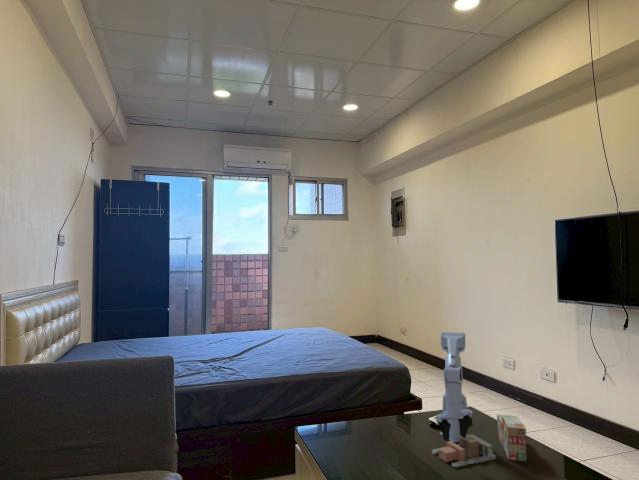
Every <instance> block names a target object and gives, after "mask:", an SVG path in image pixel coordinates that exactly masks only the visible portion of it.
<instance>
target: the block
mask: <svg viewBox="0 0 639 480" xmlns="http://www.w3.org/2000/svg"><path fill="white" fill-rule="evenodd" d="M469 435H470V434H466V438H463V437H461V436H459V442H458V444H459V445H460V447H462V448H463V449H465V455H467V456H468V457H470V458H475V457H480V454H479V441H478V440H476V439H474V438H472V437H470V436H469ZM467 456H466V457H467ZM468 457H467V458H468ZM470 458H469V459H470Z"/></svg>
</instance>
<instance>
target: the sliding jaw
mask: <svg viewBox="0 0 639 480" xmlns="http://www.w3.org/2000/svg"><path fill="white" fill-rule="evenodd" d="M444 447H445V448H442V447H439V448H440V449H439V454H438V457H439V459H440V460H442V461H443V462H445V463H449V461H450V462H453V460H454V461H457V462H459V461H463V460H466V456H465V449H463V448H462V447H460V446H458V445H457V444H456V442H455V443H454V442H452V441H451V440H449V442H447V441H445V446H444Z"/></svg>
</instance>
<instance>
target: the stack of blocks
mask: <svg viewBox="0 0 639 480" xmlns="http://www.w3.org/2000/svg"><path fill="white" fill-rule="evenodd" d="M496 420H497V435H498V436H497V437H498V439H499V441H500V444H501V446H502V447H503V449H504V451H505V455H506V457H507V459H508V460H509V461H516V462H517V461H519V462H528V461H527V459H528V457H527V456H528V455H527V454H528V453H527V428H526V426H525V425H524V423H523V421H522V420H521V419H520V418H519V416H518V415H511V414H499V413H498V414H496Z"/></svg>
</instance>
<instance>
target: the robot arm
mask: <svg viewBox="0 0 639 480" xmlns="http://www.w3.org/2000/svg"><path fill="white" fill-rule="evenodd" d="M440 345H441V349H442V351H445V352H446V353H447V354H446V356H445V358H444V359H445V360H444V361H445V365H444V366H445V367H444V368H443V382H444V388H445V389H444V390H445V392H444V394H443V395H442V412H441V413H439V414H436V416H435V418H436V419H435V420H436V422H437V425H438V426H439V428H440V431H441V432H439V435H441V436H442V438H443V440H444V441H445V442H446V441H447V442H449V441H452V442H453V443H454V442H455V443H459V436H461V437H463V438H466V435H468V434H467V433H468V429H469V427H470V425H471V423H472V422H473V420H472V418H471V417H472V415H473V414H472V410H470V409H468V402H467V397H466V395H464V394H463V391H462V388H463V386H462V385H463V381H464V380H463V379H464V378H463V377H464V376H463V368H462V360H461V359H462V358H461V357H460V353H462V352H465V349H466V334H465V332H464V331H463V332H457V331H456V332H453V331H441V332H440Z"/></svg>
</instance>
